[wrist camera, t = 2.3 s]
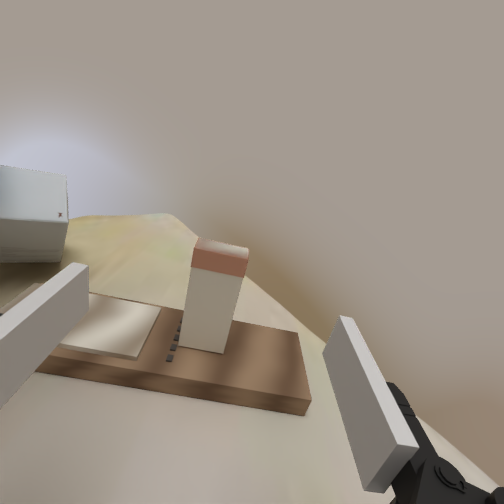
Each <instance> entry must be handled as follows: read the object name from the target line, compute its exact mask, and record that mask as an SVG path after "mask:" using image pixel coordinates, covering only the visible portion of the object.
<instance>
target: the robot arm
mask: <svg viewBox="0 0 504 504" xmlns="http://www.w3.org/2000/svg"><path fill="white" fill-rule="evenodd" d="M88 311H89V265H84V264H79V263H74V262H72V263H71V264H70V265H68V266H67V267H66V268H64V269H63V270H62V271H60V272H59V273H58V274H56V275H55V276H54V277H52V278H51V279H50V280H48V281H47V282H46V283H44V284H43V285H42V286H40V287H39V288H38V289H36V290H35V291H34V292H32V293H31V294H30V295H28V296H27V297H26V298H24V299H23V300H22V301H20V302H19V303H18V304H16V305H15V306H14V307H12V308H11V309H10V310H8V311H7V312H6V313H4V314H2V313H0V409H1V408H2V407H3V406H4V405H5V404H6V402H7V401H8V400H9V399H10V398H11V397H12V396H13V395H14V393H15V392H16V391H17V390H18V389H19V388H20V387H21V386H22V385H23V383H24V382H25V381H26V380H27V379H28V378H29V377H30V376H31V374H32V373H33V372H34V371H35V370H36V369H37V368H38V367H39V366H40V364H41V363H42V362H43V361H44V360H45V359H46V358H47V357H48V355H49V354H50V353H51V352H52V351H53V350H54V349H55V348H56V347H57V345H58V344H59V343H60V342H61V341H62V340H63V339H64V338H65V336H66V335H67V334H68V333H69V332H70V331H71V330H72V329H73V327H74V326H75V325H76V324H77V323H78V322H79V321H80V320H81V319H82V317H83V316H84V315H85V314H86V313H87V312H88ZM322 354H323V357H324V360H325V364H326V367H327V370H328V374H329V377H330V380H331V383H332V387H333V390H334V393H335V397H336V400H337V403H338V407H339V410H340V413H341V417H342V420H343V423H344V426H345V430H346V433H347V436H348V440H349V443H350V446H351V450H352V453H353V456H354V459H355V463H356V466H357V469H358V473H359V476H360V479H361V483H362V486H363V489H364V491H369V492H377V493H385V491H386V490H387V489H388V487H389V486H390V485H392V487H393V490H394V493H395V495H396V496H395V498H394V499H393V500H392V501H391V502H390V504H504V487H497V488H496V489H495V490H494V491H493V492H492V493H491V494H490V493H488V492H486V491H484V490H482V489H480V488H478V487H476V486H474V485H471V484H469V483H467V482H466V481H465V479H464V477H463V476H462V475H461V474H460V472H459V471H458V470H457V469H456V468H455V467H454V466H453V465H452V464H450V463H449V462H448V461H446V460H445V459H443V458H441V457H439V456H438V455H437V453H436V451H435V449H434V447H433V446H432V444H431V442H430V440H429V439H428V437H427V435H426V433H425V431H424V430H423V428H422V426H421V424H420V422H419V421H418V419H417V418H416V417H415V416H416V415H415V414H414V412H413V410H412V408H410V405H409V403H408V401H407V399H406V398H405V396H404V394H403V393H402V392H401V391H400V390H399V389H398V387H397V386H396V385H395V384H394V383H390V382H385V380H384V378H383V376H382V374H381V372H380V370H379V368H378V366H377V364H376V363H375V360H374V359H373V356H372V355H371V353H370V351H369V349H368V347H367V345H366V343H365V341H364V339H363V337H362V335H361V333H360V331H359V329H358V327H357V325H356V324H355V322H354V320H353V318H350V317H344V316H339V317H338V319H337V322H336V324H335V326H334V328H333V331H332V333H331V335H330V337H329V340H328V342H327V344H326V346H325V349H324V351H323V353H322Z"/></svg>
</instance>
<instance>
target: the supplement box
mask: <svg viewBox="0 0 504 504" xmlns="http://www.w3.org/2000/svg"><path fill="white" fill-rule="evenodd" d="M67 199H68V198H67V181H66V175H61V174H53V173H48V172H41V171H34V170H28V169H22V168H16V167H9V166H2V165H0V263H23V262H61V258H62V253H63V248H64V243H65V238H66V233H67V228H68V224H69V219H68V200H67Z"/></svg>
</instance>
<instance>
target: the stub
mask: <svg viewBox="0 0 504 504" xmlns="http://www.w3.org/2000/svg"><path fill="white" fill-rule="evenodd" d="M248 259H249V249H248V248H243V247H239V246H235V245H230V244H226V243H221V242H217V241H212V240H208V239H203V238H198V240H197V243H196V245H195V247H194V251H193V257H192V263H191V272H190V278H189V284H188V290H187V296H186V302H185V307H184V313H183V319H182V325H181V331H180V337H179V343H178V346H184V347H189V348H195V349H200V350H205V351H211V352H216V353H222V354H223V352H224V349H225V345H226V341H227V337H228V334H229V330H230V326H231V322H232V318H233V315H234V311H235V307H236V303H237V299H238V296H239V292H240V288H241V284H242V280H243V278H244V275H245V271H246V267H247V263H248Z"/></svg>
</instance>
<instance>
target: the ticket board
mask: <svg viewBox="0 0 504 504" xmlns="http://www.w3.org/2000/svg"><path fill="white" fill-rule="evenodd" d="M43 284H44V283H40V284H39V283H34V284H33V285H31V286H30V287H29V288H27V289H26V290H24V291H23V292H22V293H20V294H19V295H18V296H16V297H15V298H14V299H12V300H11V301H9V302H8V303H7V304H5V305H4V306H3V307H1V308H0V313H2V314H4V313H6V312H7V311H8V310H10V309H11V308H12V307H14V306H15V305H16V304H18V303H19V302H20V301H22V300H23V299H24V298H26V297H27V296H28V295H30V294H31V293H32V292H34V291H35V290H36V289H38V288H39V287H40V286H42V285H43ZM183 313H184V311H183V310H178V309H173V308H168V307H163V306H158V305H153V304H148V303H143V302H137V301H132V300H127V299H122V298H117V297H112V296H107V295H102V294H97V293H92V292H89V311H88V312H87V313H86V314H85V315H84V316H83V317H82V319H81V320H80V321H79V322H78V323H77V324H76V325H75V326H74V327H73V329H72V330H71V331H70V332H69V333H68V334H67V335H66V336H65V338H64V339H63V340H62V341H61V342H60V343H59V344H58V345H57V347H56V348H55V349H54V350H53V351H52V352H51V353H50V354H49V355H48V357H47V358H46V359H45V360H44V361H43V362H42V363H41V364H40V366H39V367H38V368H37V369H36V370H35V371H37V372H43V373H49V374H55V375H61V376H67V377H73V378H79V379H85V380H91V381H97V382H103V383H109V384H115V385H121V386H127V387H133V388H139V389H145V390H151V391H157V392H163V393H169V394H175V395H181V396H187V397H193V398H199V399H205V400H211V401H217V402H223V403H229V404H235V405H241V406H247V407H253V408H259V409H265V410H271V411H277V412H283V413H289V414H295V415H301V416H304V415H305V413H306V411H307V409H308V407H309V405H310V403H311V401H312V399H311V395H310V390H309V385H308V380H307V376H306V371H305V366H304V361H303V356H302V352H301V347H300V342H299V337H298V333H296V332H290V331H285V330H280V329H275V328H270V327H265V326H260V325H255V324H250V323H245V322H239V321H234V320H232V322H231V326H230V330H229V334H228V337H227V341H226V345H225V349H224V352H223V354H222V353H216V352H211V351H205V350H200V349H195V348H189V347H184V346H178V343H179V337H180V331H181V325H182V319H183Z"/></svg>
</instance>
